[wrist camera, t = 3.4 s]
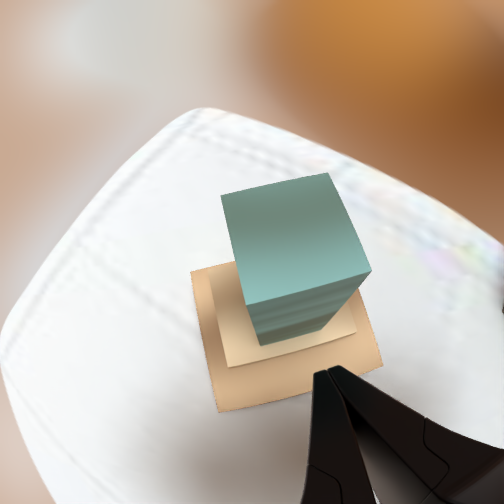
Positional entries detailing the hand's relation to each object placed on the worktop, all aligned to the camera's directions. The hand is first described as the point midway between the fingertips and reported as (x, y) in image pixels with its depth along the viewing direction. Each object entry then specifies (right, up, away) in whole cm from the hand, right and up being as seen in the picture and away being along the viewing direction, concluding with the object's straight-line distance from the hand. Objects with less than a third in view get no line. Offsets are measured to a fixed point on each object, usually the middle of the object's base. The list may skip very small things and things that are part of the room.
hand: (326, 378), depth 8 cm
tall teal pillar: (-1, +1, +9) cm, 9 cm away
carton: (0, -2, +12) cm, 12 cm away
